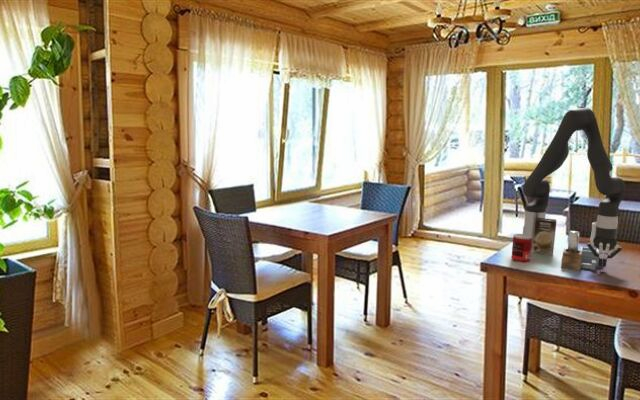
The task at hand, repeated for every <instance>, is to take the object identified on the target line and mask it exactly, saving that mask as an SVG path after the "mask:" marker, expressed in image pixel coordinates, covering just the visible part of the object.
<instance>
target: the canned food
mask: <svg viewBox="0 0 640 400" xmlns="http://www.w3.org/2000/svg"><path fill="white" fill-rule="evenodd" d="M531 244H532V236H530V235H527V234H523V233H514V234H513V235H512V248H511V260H513V261H515V262H517V263H518V262H519V263H528V262H530V260H531V255H532V254H531V253H532V247H531Z"/></svg>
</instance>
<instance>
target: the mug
mask: <svg viewBox="0 0 640 400" xmlns="http://www.w3.org/2000/svg"><path fill="white" fill-rule="evenodd" d="M595 231H596V221H594V222H592V223H591V233H590V238H589V241H590V242H592V241H593V239H594V238H595ZM590 242H589V243H590Z"/></svg>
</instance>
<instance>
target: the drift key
mask: <svg viewBox="0 0 640 400" xmlns="http://www.w3.org/2000/svg"><path fill="white" fill-rule="evenodd" d="M596 267H597V266H596V261H595V260H592V264H589V263H582V262H581V266H580V269H585V270H590V271H596Z"/></svg>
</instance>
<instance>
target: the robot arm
mask: <svg viewBox="0 0 640 400" xmlns="http://www.w3.org/2000/svg"><path fill="white" fill-rule="evenodd" d="M578 131H579V132H580V131H583V132H584V133H585V135H586V138H587V152H586V153H587V154H586V155H587V160H588V163H589V164H590V168H591V169H592V171H593V178H594V183H595V187H596V190H597V191H598V192H599V193H600V194H601V195H603V196H605V198H604V199H603V200H601V201H600V202H599V204H598V211H597V216H596V217H597V218H596V221H595V222H596V231H595V238H594V239H593V241H592V242H587V245H586V247H587V248H589V249H590V250H591V252H592V253H593V254H594V256H596V257H598V258H599V262H598V265H599V266H600V267H599V268H603V269H604V267H605V268H606V267H607V262H608V260H609V259H613V258H614V257H615V256H616V255H617V254H618V253H620V252H621V251H622V250H623V247H622V246H620V245H619V244H618V242H617V232H618V224H619V208H620V207H619V206H620V204H621V202H622V200H623V197H624V194H625V192H626V185H625V183H626V182H625V181H624V180H623V179H622V178H620V177H619V176H615V177H614V176H613V177H611V175H610V172H612V170H614V169H613V164H612V162H611V160H610V158H609V155H608V153H607V152H606V148H605V147H604V143H603V140H602V135H601V133H600V128H599V125H598V120H597V117H596V114H595V113H594V111H593V110H592V109H590V108H587V107H582V108H572V109H569V110H567V112H565V114H564V116H563V118H562V119H561V121H560V123H559V126H558V128H557V131H556V132H555V134H554V136H553V138H552V140H551V142H550V144H549V145H548V147H546V150H545V151H544V153H543V155H542V157H541V158H540V160H539V162H538V163H537V164H536V167H535V168H534V170H533V171H532V172H531V173H530V174H529V176H528V177H527V179H526V180H525V181H524V184H523V187H522V193H523V195H524V196H525V197H527V198H532V199H533V198H535V199H534V200H533V201H531V202H530V203H527V204H526V205H525V211H524V221H523V222H524V224H523V226H522V234H527V235H530V236H532V244H531V248H532V246H533V238H534V228H535V220H536V217H537V218H546V214H547V213H546V211H547V207H548V205H549V199H550V192H551V186H550V182H549V180H548V179H547V177H548V176H550V175H551V174H553V173H554V172H556V171H557V170H559V169H560V168H561V167H562V166H563V164H564V163H565V161H566V160H567V158H568V156H569V155H570V154H569V152H570V148H569V141H570V140H571V137H572V136H573V134H574V133H575V132H578ZM594 246H595V247H596V248H595V247H594ZM594 248H595V249H599V254H598V253H597V252H596V250H595V249H594ZM613 248H614V250H613ZM611 250H613V251H612V252H611V253H609V252H610V251H611ZM603 253H604V254H603Z"/></svg>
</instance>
